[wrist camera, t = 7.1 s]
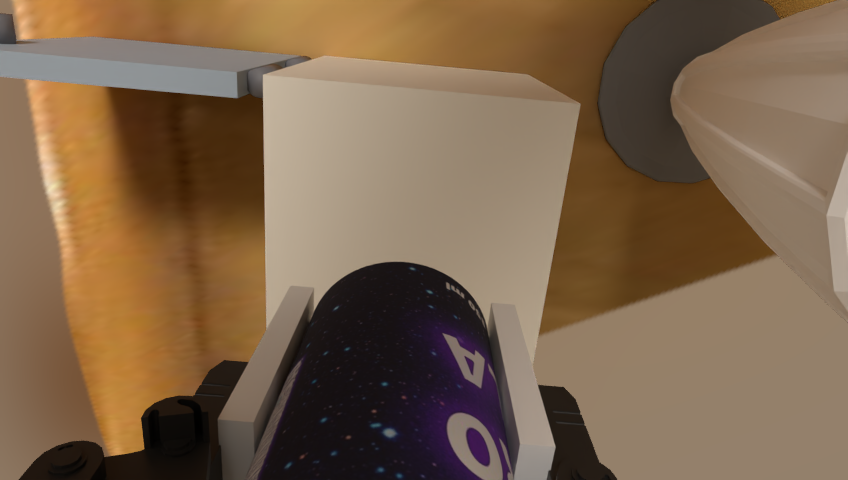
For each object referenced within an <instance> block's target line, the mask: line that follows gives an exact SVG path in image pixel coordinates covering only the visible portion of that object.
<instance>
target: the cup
mask: <svg viewBox="0 0 848 480" xmlns="http://www.w3.org/2000/svg"><path fill="white" fill-rule="evenodd" d="M598 107H599V111H600V116H601V120H602V124H603V129H604V133H605V137H606V139H607V141H608V142H609V143H610V145H611V146H612V147H613V148H614V150H615V151H616V152H617V154H618V155H619V156H620V158H621V159H622V160H623V161H624V163H625V164H626V165H627V166H629V167H630V168H632V169H634V170H636V171H638V172H640V173H642V174H644V175H646V176H648V177H650V178H652V179H654V180H656V181H664V182H680V183H695V182H698V181H702V180H705V179H708V178H711V179H712V180H713V182H714V183H715V185H716V186H717V187H718V189H719V190H720V191H721V192H722V194H723V195H724V196H725V197H726V198H727V199H728V201H729V202H730V203H731V204H732V205H733V206H734V207H735V209H736V210H737V211H738V212H739V213H740V214H741V216H742V217H743V218H744V219H745V220H746V221H747V223H748V224H749V225H750V226H751V227H752V228H753V230H754V231H755V232H756V233H757V234H758V235H759V237H760V238H761V239H762V240H763V241H764V242H765V243H766V244H767V245H768V246H769V247H770V248H771V249H772V250H773V251H774V252H775V253H776V254H777V255H778V256H779V257H780V258H781V259H782V260H783V261H784V262H785V263H786V264H787V265H788V266H789V267H790V268H791V269H792V270H793V271H794V272H795V273H796V274H797V275H798V276H799V277H800V278H801V279H802V280H803V281H804V282H805V283H806V284H807V285H808V286H809V287H810V288H811V289H812V290H813V291H814V292H815V293H816V294H817V295H818V296H819V297H821V299H823V300H824V301H825V302H826V303H827V304H828V305H829V306H830V307H831V308H832V309H833V310H834V311H836V312H837V313H838V314H839V315H840V316H841V317H842V318H843V319H844V320H845V321H846V322H847V323H848V0H837V1H834V2H830V3H827V4H824V5H821V6H818V7H814V8H811V9H808V10H805V11H802V12H799V13H796V14H793V15H791V16H788V17H786V18H783V19H780V18H779V17H778V15H777V14H776V12H775V10H774V9H773V7H772V6H771V5H769V4H767V3H765V2H764V1H762V0H657V1H656V2H655V3H653V4H652V5H651V6H650V7H649V8H648V9H646V10H645V11H644V12H643V13H642V14H640V15H639V16H638V17H637V18H636V19H635V20H633V21H632V22H631V23H630V24H629V25H627V26H626V27H625V29H624V30H623V32H622V34H621V36H620V37H619V39H618V41H617V43H616V44H615V46H614V48H613V50H612V51H611V53H610V55H609V56H608V58H607V60H606V62H605V63H604V68H603V74H602V80H601V86H600V92H599V98H598Z"/></svg>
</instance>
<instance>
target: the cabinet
mask: <svg viewBox="0 0 848 480" xmlns="http://www.w3.org/2000/svg"><path fill="white" fill-rule="evenodd" d="M580 105H581V104H580V103H578V102H577V101H575V100H573V99H571V98H569V97H568V96H566V95H564V94H562V93H560V92H559V91H557V90H555V89H553V88H551V87H550V86H548V85H546V84H544V83H542V82H541V81H539V80H537V79H535V78H533V77H532V76H530V75H528V74H519V73H508V72H497V71H486V70H475V69H464V68H454V67H443V66H432V65H421V64H410V63H399V62H388V61H378V60H367V59H356V58H345V57H334V56H322V57H319V58H316V59H312V60H309V61H306V62H303V63H299V64H296V65H293V66H290V67H286V68H283V69H280V70H277V71H273V72H270V73H267V74H264V75H263V124H264V193H265V262H266V330H267V328H268V326H269V324H270V322H271V321H272V319H273V317H274V315H275V313H276V311H277V310H278V308H279V306H280V304H281V302H282V300H283V299H284V297H285V295H286V293H287V291H288V289H289V288H290V286H301V287H313V288H314V311H315V309H316V307H317V305H318V303H319V301H320V300H321V298H322V297H323V295H324V294H325V293H326V292H327V291H328V290H329V289H330V287H331V286H333V285H334V284H335V283H336V282H337V281H339V280H340V279H341V278H343V277H344V276H346V275H347V274H349V273H351V272H353V271H355V270H358V269H360V268H363V267H366V266H369V265H373V264H377V263H383V262H410V263H416V264H420V265H424V266H428V267H431V268H433V269H436V270H438V271H440V272H442V273H444V274H446V275H448V276H449V277H451V278H453V279H454V280H455V281H457V282H458V283H459V284H460V285H462V286H463V287H464V288H465V289H466V290H467V291H468V292H469V293H470V294H471V296H472V297H473V298H474V300H475V301H476V302H477V304H478V306H479V307H480V309H481V311H482V313H483V316H484V319H485V322H486V325H487V328H488V321H489V314H490V307H491V303H500V304H512V305H515V308H516V311H517V315H518V318H519V322H520V325H521V329H522V332H523V336H524V339H525V343H526V346H527V349H528V353H529V356H530V360H531V363H532V367H533V362H534V356H535V351H536V345H537V340H538V335H539V329H540V324H541V318H542V313H543V307H544V302H545V296H546V291H547V285H548V280H549V274H550V269H551V263H552V258H553V253H554V247H555V242H556V236H557V231H558V225H559V220H560V214H561V209H562V203H563V198H564V192H565V187H566V181H567V176H568V170H569V165H570V160H571V154H572V149H573V143H574V138H575V132H576V127H577V121H578V116H579V110H580Z"/></svg>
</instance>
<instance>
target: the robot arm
mask: <svg viewBox="0 0 848 480" xmlns="http://www.w3.org/2000/svg"><path fill="white" fill-rule="evenodd" d="M313 313H314V288H313V287H301V286H290V288H289V289H288V291H287V293H286V295H285V297H284V299H283V300H282V302H281V304H280V306H279V308H278V310H277V311H276V313H275V315H274V317H273V319H272V321H271V322H270V324H269V326H268V328H267V330H266V332H265V333H264V335H263V337H262V339H261V341H260V343H259V344H258V346H257V348H256V350H255V352H254V354H253V355H252V357H251V359H250V361H249V362H239V361H227V360H224V361H223V362H221V363H220V364H218V365H217V366H215V367H214V368H213V369H211V370H210V371H209V372H208V374H207V376H206V377H205V379H204V380H203V382H202V385H200V386H199V388H198V389H197V391H196V393H195V395H194V396H193V397H192V396H175V397H170V398H166V399H163V400H161V401H159V402H156V403H154V404H153V405H152V406H150V407H149V408H148V409H147V410H146V411H145V412H144V414H143V416H142V417H141V421H142V430H143V439H144V448H145V449H144V450H142V451H138V452H134V453H129V454H123V455H116V456H109V457H104V453H103V450H102V447H100V446H99V445H98V444H96V443H94V442H89V441H73V442H68V443H65V444H61V445H58V446H56V447H54V448H52V449H50V450H48V451H46V452H44V453H43V454H42V455H41V456H40V457H39V458H37V459H36V460H35V461H34V462H33V464H31V466H30V467H29V468H28V469H27V470H26V472H25V473H24V474H23V475H22V476H21V478H20V479H19V480H245V478H246V475H247V473H248V470H249V468H250V465H251V463H252V461H253V458H254V456H255V453H256V451H257V449H258V446H259V444H260V441H261V439H262V436H263V434H264V432H265V429H266V427H267V424H268V422H269V420H270V417H271V415H272V412H273V410H274V407H275V405H276V403H277V400H278V398H279V395H280V393H281V391H282V388H283V386H284V383H285V381H286V378H287V376H288V374H289V371H290V369H291V366H292V364H293V362H294V359H295V357H296V354H297V352H298V349H299V347H300V345H301V342H302V340H303V337H304V335H305V332H306V330H307V328H308V325H309V323H310V320H311V318H312V316H313ZM487 330H488V336H489V341H490V347H491V352H492V358H493V364H494V369H495V375H496V381H497V386H498V392H499V397H500V403H501V409H502V414H503V420H504V426H505V431H506V437H507V443H508V448H509V454H510V459H511V465H512V471H513V476H514V480H617V478H616V477H615V475H614V474H613V473H612V472H611V470H610V469H608V468H607V467H605V466H604V465H603V464H601V463H599V460H598V458H597V455H596V453H595V450H594V447H593V444H592V442H591V439H590V437H589V434H588V431H587V429H586V426H584V421H583V418H582V415H580V410H579V407H578V405H577V402H576V400H575V398H574V397H573V396H572V395H571V394H570V393H569V392H568V391H567V390H566V389H565V388H564V387H556V386H543V385H538V384H537V381H536V377H535V374H534V370H533V367H532V363H531V360H530V356H529V353H528V349H527V346H526V343H525V339H524V336H523V332H522V329H521V325H520V322H519V318H518V315H517V311H516V308H515V305H512V304H500V303H491V307H490V314H489V321H488V328H487Z"/></svg>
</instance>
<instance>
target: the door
mask: <svg viewBox="0 0 848 480" xmlns="http://www.w3.org/2000/svg"><path fill="white" fill-rule="evenodd" d="M309 60H312V59H311V58H309V57H307V56H297V55H286V54H275V53H264V52H254V51H243V50H232V49H221V48H210V47H199V46H188V45H178V44H167V43H156V42H145V41H134V40H123V39H112V38H101V37H75V38H51V39H28V40H16V35H15V29H14V22H13V16H12V14H3V13H0V77H9V78H10V77H11V78H20V79H31V80H42V81H53V82H64V83H75V84H86V85H98V86H109V87H120V88H131V89H142V90H153V91H164V92H175V93H186V94H197V95H208V96H219V97H230V98H239V97H242V96H245V95H247V94H251V95H253V96H255V97H258V98H263V75H264V74H267V73H270V72H273V71H277V70H280V69H283V68H286V67H290V66H293V65H296V64H299V63H303V62H306V61H309Z"/></svg>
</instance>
